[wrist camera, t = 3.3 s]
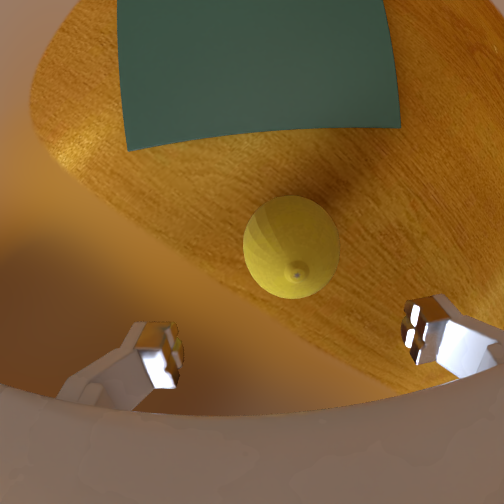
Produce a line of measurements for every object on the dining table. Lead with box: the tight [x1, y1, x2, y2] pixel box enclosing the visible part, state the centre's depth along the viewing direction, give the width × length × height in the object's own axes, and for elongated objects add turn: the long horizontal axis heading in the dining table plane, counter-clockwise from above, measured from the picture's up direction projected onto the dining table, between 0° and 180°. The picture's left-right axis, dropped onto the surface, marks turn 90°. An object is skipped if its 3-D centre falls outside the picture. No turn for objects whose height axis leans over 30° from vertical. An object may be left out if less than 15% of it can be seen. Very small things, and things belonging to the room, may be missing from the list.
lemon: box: [243, 195, 340, 299], centre depth 18 cm, size 6×6×8 cm
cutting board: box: [117, 0, 401, 151], centre depth 16 cm, size 18×12×2 cm, turn 96°
